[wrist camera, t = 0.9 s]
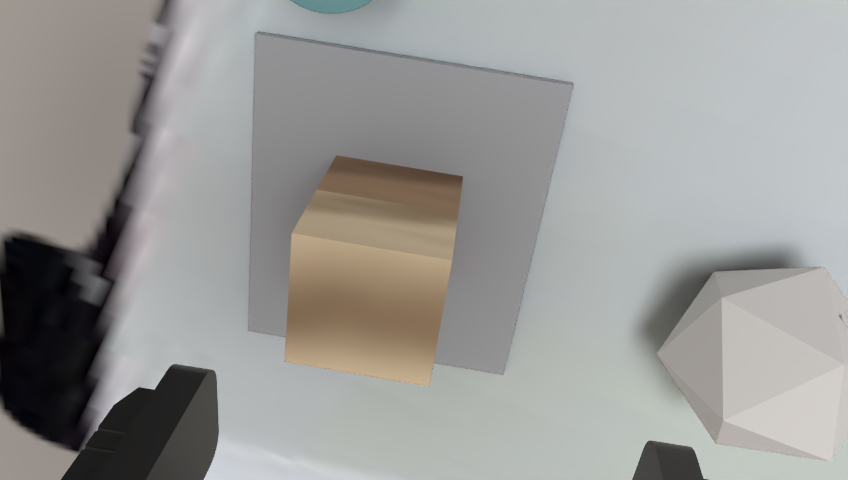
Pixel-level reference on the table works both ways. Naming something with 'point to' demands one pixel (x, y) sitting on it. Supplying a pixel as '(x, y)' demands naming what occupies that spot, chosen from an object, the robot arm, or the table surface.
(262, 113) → the slate mat
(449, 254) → the oak block
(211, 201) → the table surface
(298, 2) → the teal cylinder
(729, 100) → the table surface
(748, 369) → the die
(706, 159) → the table surface
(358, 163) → the walnut block
